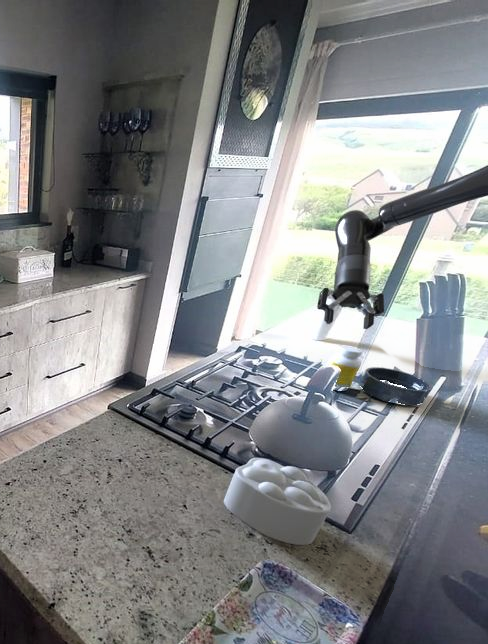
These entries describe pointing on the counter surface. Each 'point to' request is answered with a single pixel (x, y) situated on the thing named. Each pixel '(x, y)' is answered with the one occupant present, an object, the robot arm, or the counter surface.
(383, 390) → the ring
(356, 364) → the pill bottle
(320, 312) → the drinking glass
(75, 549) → the counter surface
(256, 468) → the lumpy-topped squat cylinder
